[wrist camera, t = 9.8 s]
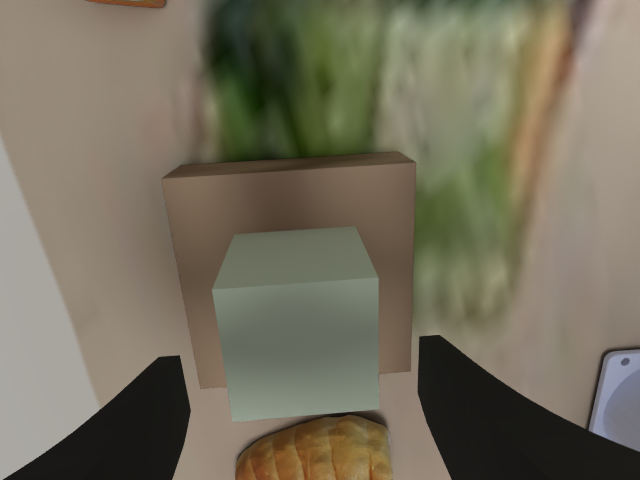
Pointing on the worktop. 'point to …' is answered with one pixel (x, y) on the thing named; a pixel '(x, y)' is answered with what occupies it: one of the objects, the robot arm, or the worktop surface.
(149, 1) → the supplement box
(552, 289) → the worktop surface
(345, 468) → the pastry
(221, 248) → the walnut base block
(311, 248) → the sage green block
